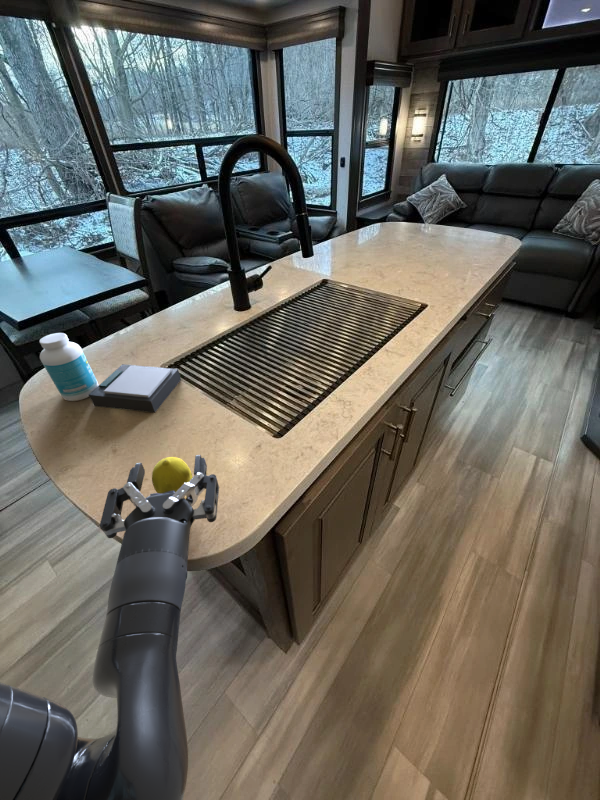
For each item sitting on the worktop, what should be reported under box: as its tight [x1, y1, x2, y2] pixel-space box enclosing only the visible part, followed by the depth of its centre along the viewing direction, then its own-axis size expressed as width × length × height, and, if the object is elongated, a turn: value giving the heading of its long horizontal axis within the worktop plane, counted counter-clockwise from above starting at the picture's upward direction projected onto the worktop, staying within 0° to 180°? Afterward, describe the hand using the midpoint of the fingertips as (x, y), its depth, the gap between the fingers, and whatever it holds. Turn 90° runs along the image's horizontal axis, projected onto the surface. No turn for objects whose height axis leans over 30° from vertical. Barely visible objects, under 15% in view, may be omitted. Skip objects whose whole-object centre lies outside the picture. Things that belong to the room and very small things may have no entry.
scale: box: [88, 363, 182, 413], centre depth 73 cm, size 14×12×4 cm
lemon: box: [151, 456, 193, 493], centre depth 50 cm, size 6×6×8 cm
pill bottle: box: [39, 332, 100, 402], centre depth 70 cm, size 8×7×14 cm
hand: (170, 462), depth 50 cm, fingers open, 8 cm apart
